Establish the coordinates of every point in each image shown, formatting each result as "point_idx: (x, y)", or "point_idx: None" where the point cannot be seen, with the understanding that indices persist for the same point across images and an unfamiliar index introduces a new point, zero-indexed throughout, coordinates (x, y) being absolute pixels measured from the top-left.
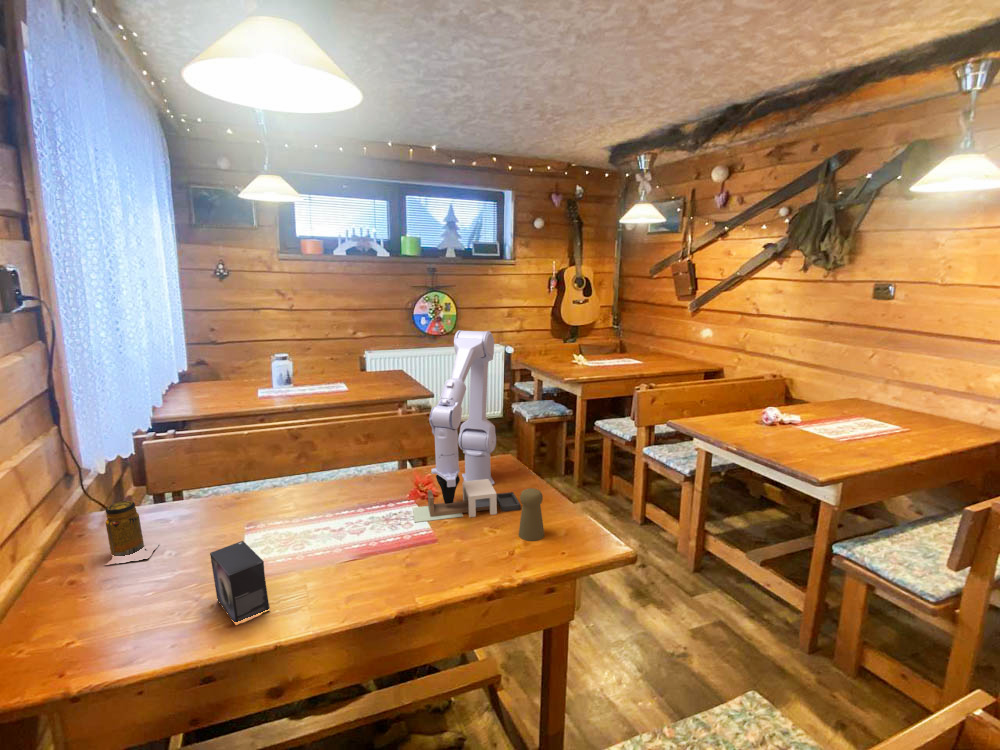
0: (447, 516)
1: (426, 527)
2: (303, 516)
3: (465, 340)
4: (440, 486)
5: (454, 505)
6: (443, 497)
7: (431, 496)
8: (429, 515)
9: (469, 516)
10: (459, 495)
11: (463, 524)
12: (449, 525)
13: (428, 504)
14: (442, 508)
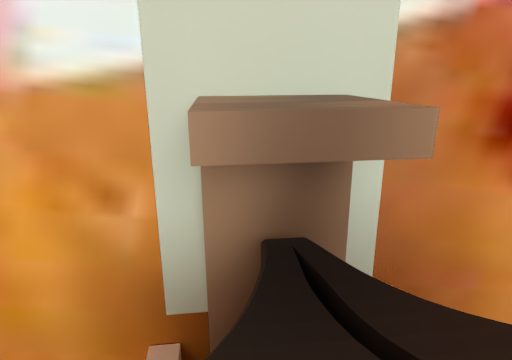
0: (181, 219)
1: (34, 46)
2: None
3: None
4: (213, 350)
5: None
6: (263, 261)
7: (229, 141)
8: (225, 90)
9: (149, 350)
10: (471, 309)
11: (55, 306)
12: (50, 220)
13: (341, 97)
14: (255, 203)
